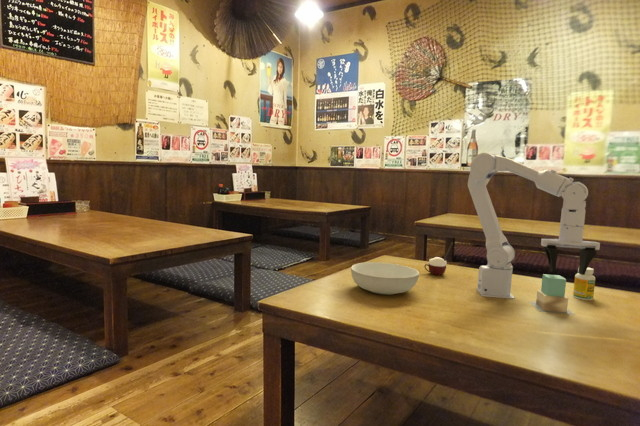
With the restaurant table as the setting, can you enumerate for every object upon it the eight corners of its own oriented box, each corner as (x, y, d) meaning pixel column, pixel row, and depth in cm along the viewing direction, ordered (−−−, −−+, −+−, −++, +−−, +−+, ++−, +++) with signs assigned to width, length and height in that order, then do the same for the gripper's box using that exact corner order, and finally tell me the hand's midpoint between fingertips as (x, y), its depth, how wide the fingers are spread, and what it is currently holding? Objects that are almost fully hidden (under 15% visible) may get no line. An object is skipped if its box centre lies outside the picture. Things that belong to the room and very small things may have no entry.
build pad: (539, 312, 114) (539, 311, 114) (528, 302, 123) (528, 301, 123) (574, 315, 113) (575, 314, 113) (561, 305, 122) (561, 304, 122)
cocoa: (423, 274, 153) (423, 242, 152) (428, 271, 158) (428, 239, 157) (449, 278, 148) (449, 244, 147) (453, 274, 153) (454, 241, 152)
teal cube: (546, 295, 116) (548, 278, 115) (541, 291, 120) (542, 274, 119) (564, 297, 115) (566, 279, 114) (557, 292, 119) (559, 275, 119)
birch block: (543, 310, 116) (544, 296, 115) (536, 303, 121) (537, 290, 121) (566, 312, 115) (568, 298, 114) (558, 305, 120) (559, 291, 120)
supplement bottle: (577, 294, 133) (581, 265, 132) (596, 299, 129) (599, 269, 128) (569, 297, 130) (572, 267, 129) (588, 302, 126) (591, 271, 125)
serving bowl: (431, 298, 124) (433, 275, 123) (369, 303, 116) (371, 279, 116) (394, 279, 143) (395, 260, 143) (339, 283, 136) (340, 263, 135)
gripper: (549, 225, 114) (544, 274, 116) (607, 228, 112) (601, 278, 113) (540, 222, 121) (535, 268, 122) (595, 225, 119) (589, 272, 120)
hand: (566, 272), depth 118 cm, fingers open, 7 cm apart
